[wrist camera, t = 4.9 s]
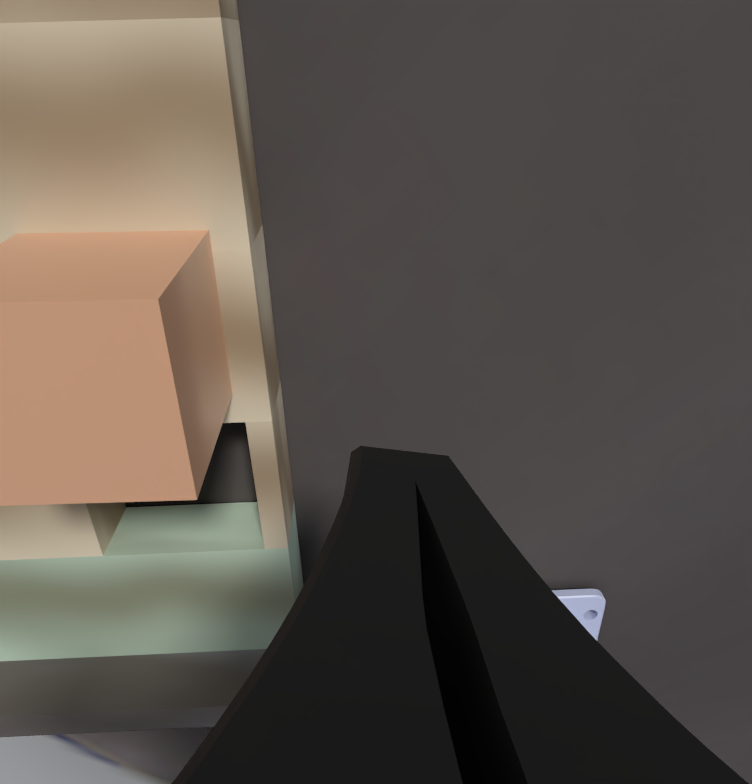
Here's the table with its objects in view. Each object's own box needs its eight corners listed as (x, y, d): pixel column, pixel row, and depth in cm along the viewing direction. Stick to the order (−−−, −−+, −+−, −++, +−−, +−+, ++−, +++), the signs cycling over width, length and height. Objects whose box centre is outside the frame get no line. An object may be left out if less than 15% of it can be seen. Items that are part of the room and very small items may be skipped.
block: (232, 393, 16) (196, 499, 12) (66, 397, 16) (-20, 506, 12) (209, 230, 14) (158, 299, 10) (17, 233, 14) (-105, 305, 10)
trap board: (306, 614, 23) (299, 722, 20) (-17, 629, 23) (-87, 741, 19) (232, -29, 13) (188, -56, 10) (-341, -16, 13) (-612, -36, 9)
